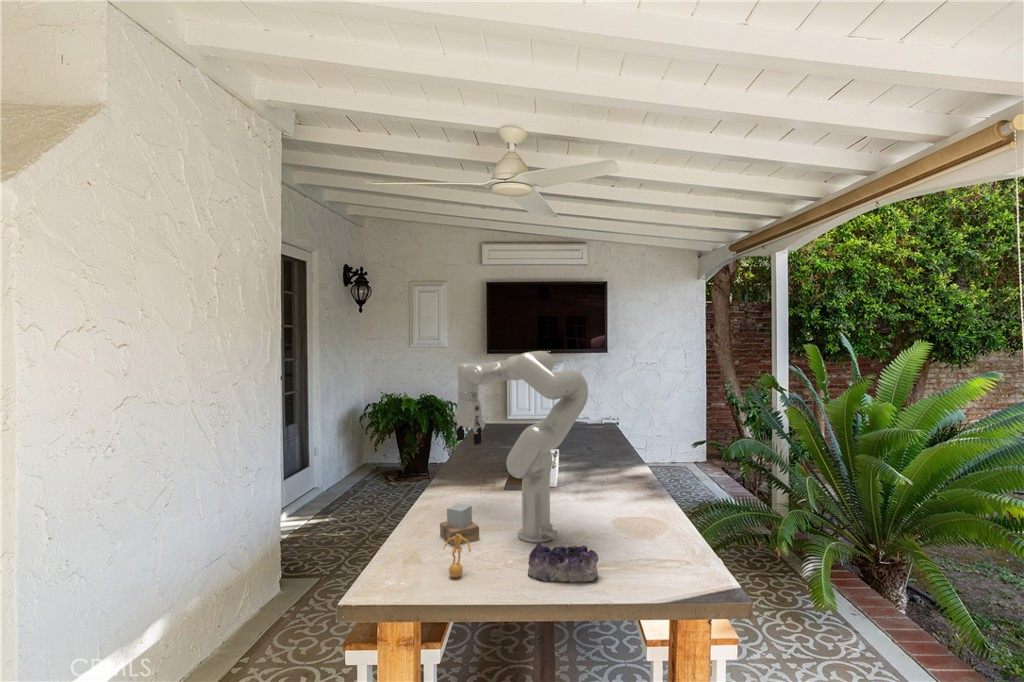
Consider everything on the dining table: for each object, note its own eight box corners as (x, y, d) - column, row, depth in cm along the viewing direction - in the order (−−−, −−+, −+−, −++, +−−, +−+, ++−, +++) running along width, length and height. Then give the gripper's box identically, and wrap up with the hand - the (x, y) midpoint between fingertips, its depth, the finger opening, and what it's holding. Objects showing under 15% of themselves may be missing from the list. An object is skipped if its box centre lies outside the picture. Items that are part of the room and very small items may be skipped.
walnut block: (479, 541, 189) (479, 526, 189) (451, 547, 184) (451, 532, 184) (466, 531, 198) (466, 517, 197) (440, 537, 193) (439, 522, 193)
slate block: (471, 522, 192) (471, 505, 192) (462, 528, 187) (461, 511, 187) (457, 520, 195) (456, 503, 195) (447, 526, 190) (446, 508, 189)
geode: (528, 588, 156) (526, 551, 157) (527, 574, 168) (525, 540, 168) (601, 583, 156) (599, 546, 157) (595, 570, 168) (593, 536, 169)
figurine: (439, 578, 162) (439, 537, 161) (446, 569, 168) (446, 529, 167) (467, 581, 160) (466, 540, 159) (473, 571, 166) (473, 531, 165)
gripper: (491, 397, 205) (492, 444, 205) (461, 393, 217) (462, 437, 218) (475, 400, 199) (476, 447, 200) (445, 395, 212) (446, 440, 213)
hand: (469, 442), depth 209 cm, fingers open, 9 cm apart
